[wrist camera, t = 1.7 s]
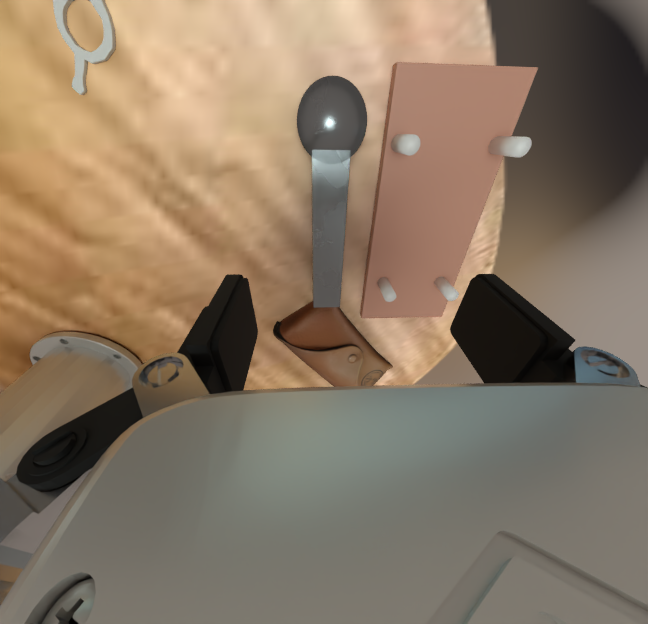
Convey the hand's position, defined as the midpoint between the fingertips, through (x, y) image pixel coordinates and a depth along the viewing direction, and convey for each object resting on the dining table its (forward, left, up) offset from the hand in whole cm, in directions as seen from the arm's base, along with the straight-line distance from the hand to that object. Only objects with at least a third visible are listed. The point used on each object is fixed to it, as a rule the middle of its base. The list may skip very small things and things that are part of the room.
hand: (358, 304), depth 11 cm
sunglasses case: (-18, -2, -16) cm, 24 cm away
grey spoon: (0, 0, -16) cm, 16 cm away
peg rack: (-1, -9, -16) cm, 18 cm away
